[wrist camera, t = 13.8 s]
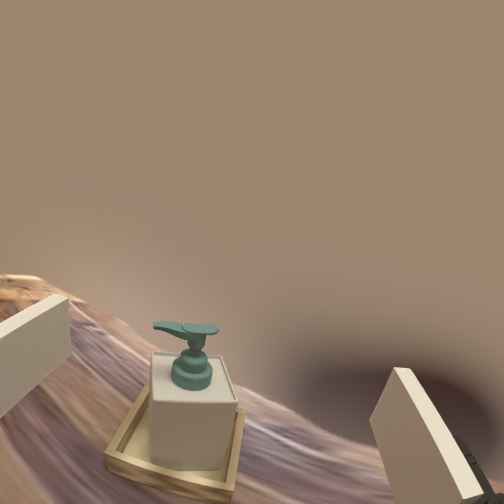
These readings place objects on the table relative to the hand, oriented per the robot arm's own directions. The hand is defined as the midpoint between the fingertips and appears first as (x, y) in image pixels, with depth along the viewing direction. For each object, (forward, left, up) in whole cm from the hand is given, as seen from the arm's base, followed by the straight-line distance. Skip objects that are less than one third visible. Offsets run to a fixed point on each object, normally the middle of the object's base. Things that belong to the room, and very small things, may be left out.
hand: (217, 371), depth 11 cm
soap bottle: (+4, -18, -27) cm, 33 cm away
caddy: (+4, -18, -28) cm, 33 cm away
